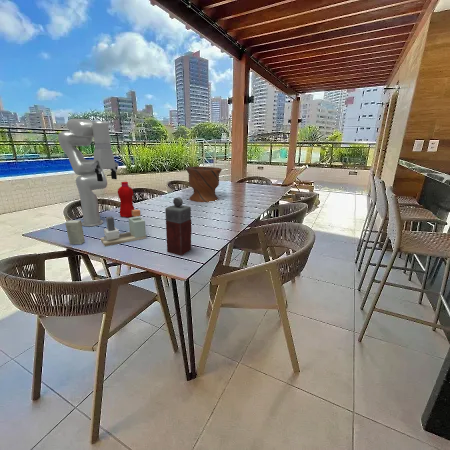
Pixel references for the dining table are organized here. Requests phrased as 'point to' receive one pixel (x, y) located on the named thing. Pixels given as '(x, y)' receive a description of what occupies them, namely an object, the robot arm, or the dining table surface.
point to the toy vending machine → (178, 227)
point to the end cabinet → (137, 227)
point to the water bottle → (125, 200)
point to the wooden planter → (203, 183)
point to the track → (120, 239)
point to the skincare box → (75, 231)
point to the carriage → (111, 229)
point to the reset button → (136, 213)
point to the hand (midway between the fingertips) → (107, 180)
